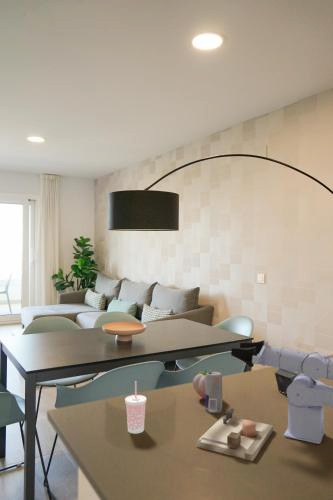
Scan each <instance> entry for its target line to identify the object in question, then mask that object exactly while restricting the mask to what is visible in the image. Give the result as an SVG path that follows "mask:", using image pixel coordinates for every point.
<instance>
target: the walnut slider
mask: <svg viewBox="0 0 333 500" xmlns="http://www.w3.org/2000/svg"><path fill="white" fill-rule="evenodd" d="M241 436H242V435H241V434H239V433H234V432H231V433H230V434H229V435H228V436H227V446H228V447H232V448H236V449H237V448H238V447H239V445H240V444H241Z"/></svg>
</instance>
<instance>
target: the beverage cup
mask: <svg viewBox="0 0 333 500" xmlns="http://www.w3.org/2000/svg"><path fill="white" fill-rule="evenodd" d="M137 381H138V380H135V381H134V394H131V395H128V396H126V397H125V398H124V402H125V406H126V407H125V408H126V422H127V432H128V433H129V434H140V433H143V432H144V431H145V420H146V419H145V417H146V403H147V397H146V396H145V395H141V394H138V393H137V390H138V389H137Z"/></svg>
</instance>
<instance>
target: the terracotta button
mask: <svg viewBox="0 0 333 500" xmlns="http://www.w3.org/2000/svg"><path fill="white" fill-rule="evenodd" d="M252 421H253V420H249V421H244V422H242V435H241V436H245V437H249V438H254V437H255V438H256V437H257V436H256V423H254V422H255V421H254V422H252Z"/></svg>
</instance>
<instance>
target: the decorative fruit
mask: <svg viewBox="0 0 333 500" xmlns="http://www.w3.org/2000/svg"><path fill="white" fill-rule="evenodd" d="M206 372H207V369H206V370H205V371H199V372H198V374H196V375H195V377H193V380H192V386H193V389H194V390H195V392H196V393H197V395H198V396H199V397H201V398H202V399H204V400H205V375H206Z"/></svg>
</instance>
